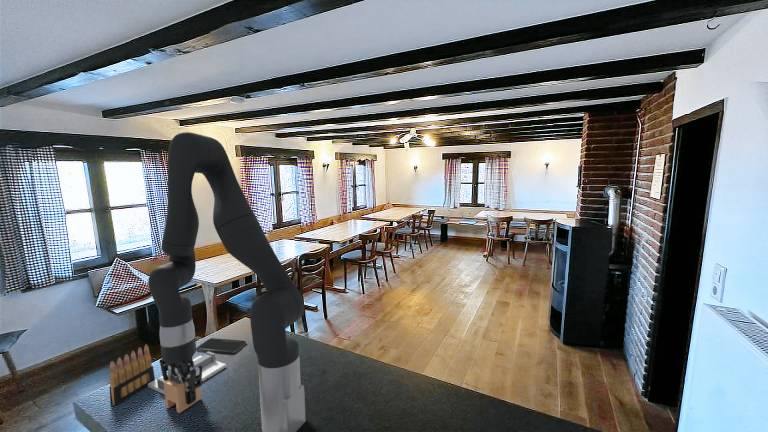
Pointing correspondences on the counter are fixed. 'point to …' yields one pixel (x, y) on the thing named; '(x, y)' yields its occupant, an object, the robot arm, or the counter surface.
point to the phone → (221, 346)
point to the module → (178, 394)
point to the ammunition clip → (130, 376)
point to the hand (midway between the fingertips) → (183, 398)
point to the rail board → (204, 373)
